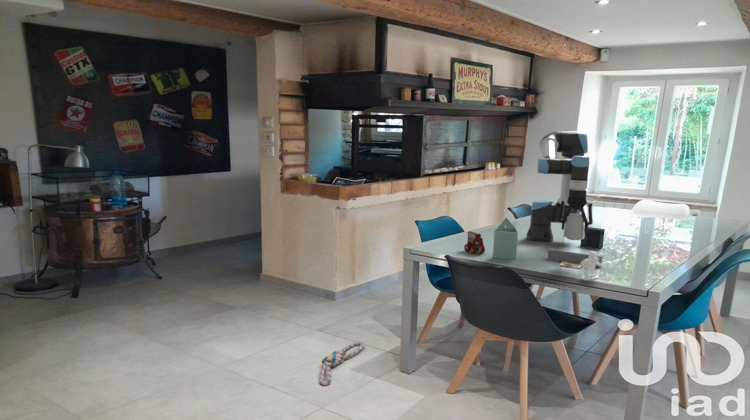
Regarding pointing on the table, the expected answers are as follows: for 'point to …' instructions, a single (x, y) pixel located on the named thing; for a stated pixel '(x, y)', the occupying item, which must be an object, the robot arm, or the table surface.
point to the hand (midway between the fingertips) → (573, 237)
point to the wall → (569, 256)
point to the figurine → (590, 266)
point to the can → (574, 226)
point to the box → (593, 238)
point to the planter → (505, 241)
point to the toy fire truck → (474, 243)
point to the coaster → (571, 264)
